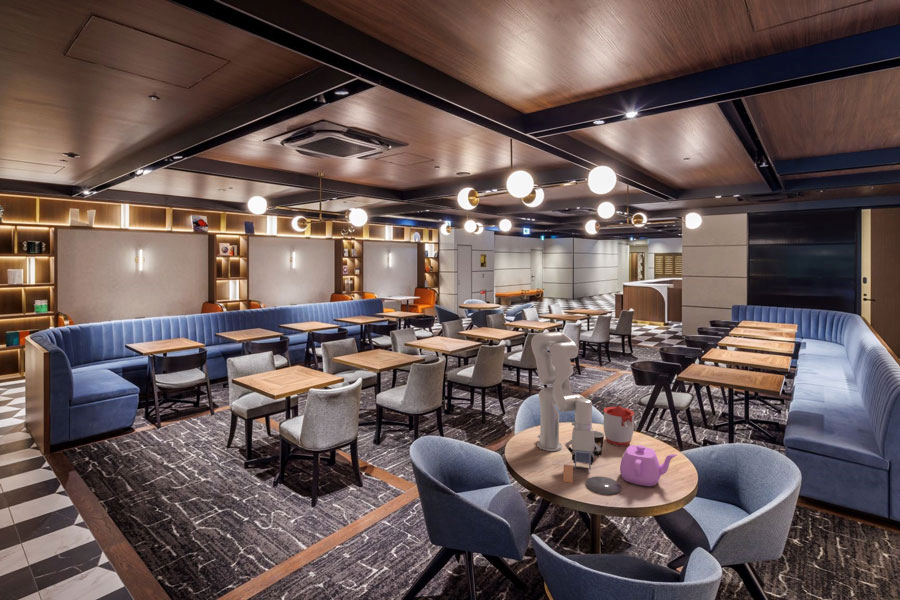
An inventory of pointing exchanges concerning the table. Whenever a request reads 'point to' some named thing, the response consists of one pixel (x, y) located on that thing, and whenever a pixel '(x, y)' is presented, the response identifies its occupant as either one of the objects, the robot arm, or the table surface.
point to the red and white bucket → (618, 425)
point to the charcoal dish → (603, 485)
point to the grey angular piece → (583, 457)
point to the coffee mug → (598, 441)
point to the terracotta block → (568, 473)
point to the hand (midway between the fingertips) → (582, 462)
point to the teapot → (642, 465)
